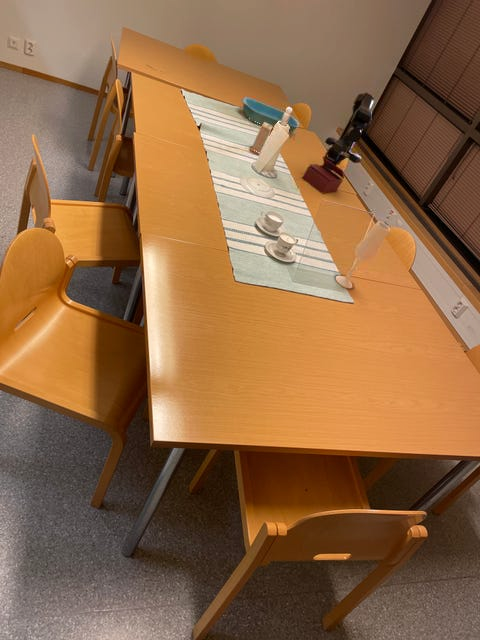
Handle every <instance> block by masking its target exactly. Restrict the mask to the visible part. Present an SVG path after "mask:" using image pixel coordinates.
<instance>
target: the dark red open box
mask: <svg viewBox="0 0 480 640" xmlns="http://www.w3.org/2000/svg"><path fill="white" fill-rule="evenodd" d="M321 174H322V175H323V176H324V177H323V176H322V175H321ZM325 177H326V178H327V179H328V180H327V179H326V178H325ZM302 179H303V180H304V181H305V182H307V183H308V184H310V185H311V186H312V187H314V189H316V190H317V191H319V192H320V193H321V194H326V193H334V192H337V191H338V189H339V188H340V186H341V184H342V183H343V181H344V179H343V178H342V177H341V176H339V175H338V174H336V173H335V172H334V171H331V170H329V169H328V168H327V167H325V166H324V165H323V164H322V165H321V164H320V165H319V164H317V163H312V164H309V165H308V166H307V168H306V170H305V172H304V174H303V176H302Z"/></svg>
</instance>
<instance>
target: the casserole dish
mask: <svg viewBox="0 0 480 640" xmlns="http://www.w3.org/2000/svg"><path fill="white" fill-rule="evenodd" d="M241 102H242V104H243V105H242V110H243V113H244V114H245V116H246V118H247V119H248V120H249V121H250V122H252V123H254V124H256V125H259V126H262V124H263V123H264V122H266V123H268V124H270V125H272V126H273V127H274V125H275V124H276V123H277V122H278V121H279V120H281V119H282V116H283V114H284V112H285V111H284V110H281V109H279V108H276V107H273V106H271V105H268V104H266V103H263V102H261V101H258V100H256V99H254V98H251V97H244V98H243V99H241ZM249 118H250V119H249ZM273 118H274V119H273ZM276 119H277V120H276ZM255 121H256V122H255ZM257 122H258V123H257ZM259 123H260V124H259ZM288 125H289V126H290V129H289V134H288V135H291V134H292V133H294V132H295V131H296V130H297V129H298V127H299V126H300V122H299V121H298V120H297V119H296V118H294V117H293V116H292V115H291V116H290V119H289V121H288ZM271 130H273V128H272V129H271Z"/></svg>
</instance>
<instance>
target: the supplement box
mask: <svg viewBox="0 0 480 640" xmlns="http://www.w3.org/2000/svg"><path fill="white" fill-rule="evenodd" d="M272 127H273V126H272V125H270V124H268V123H266V122H264V123H263V124H262V125H260V129H259V131H258V133H257V135H256V136H255V137H256V138H255V140H254V142H253V144H252V146H251V148H250V152H252V153H254V154H256V155H260V154H261V151H262V150H263V148H264V146H265V144H266V142H267V140H268V138H269V136H270V133H271V131H272V130H273V129H272ZM254 150H255V151H254ZM256 151H257V152H256ZM258 152H260V153H258Z"/></svg>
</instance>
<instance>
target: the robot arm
mask: <svg viewBox="0 0 480 640" xmlns="http://www.w3.org/2000/svg"><path fill="white" fill-rule="evenodd" d="M374 98H375V96H374V95H372V94H371V93H368V92H364V93H358V94H357V95H356V97H355V99H354V101H353V105H352V111H351V112H352V113H351V115H350V117H349V119H348V121H347V122H346V125H345V127H344V128H343V131H342V133H341V134H340V136H339V137H338V140H337V139H336V138H335V137H331V136H330V137H327V138H326V139H325V141H324V143H325V144H326V145H328V146H329V147H328V149H327V150H326V151H325V154H324V155H323V157H325V158H326V159H328V160H329V161H330V162H332V163H333V164H334V165H336V166H339V165H340V164H341V163H342V161H344V160H345V159H348V160H349V161H351V162H352V163H353V164H360V162H361V160H362V156H360V155H359V154H358V153H354V152H351V151H352V149H353V146H354V144H356V143H357V142H359V141H360V140H361V139H362V131H367V129H368V128H369V127H370V124H371V123H372V120H373V116H372V114H373V111H372V110H371V108H372V106H373V104H374ZM322 165H324V162H323V163H322ZM324 166H325V167H327V166H326V165H324ZM327 168H328V167H327ZM328 169H329V170H331V169H330V168H328ZM331 171H332V170H331ZM332 172H333V171H332Z"/></svg>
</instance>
